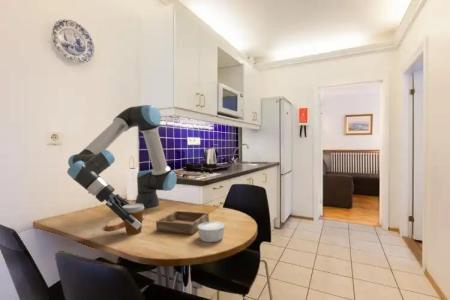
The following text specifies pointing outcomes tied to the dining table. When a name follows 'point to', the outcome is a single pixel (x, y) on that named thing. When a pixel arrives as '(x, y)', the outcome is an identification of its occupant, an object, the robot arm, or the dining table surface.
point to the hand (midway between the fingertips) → (141, 223)
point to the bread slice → (115, 224)
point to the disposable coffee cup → (137, 213)
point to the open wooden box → (182, 222)
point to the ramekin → (211, 231)
